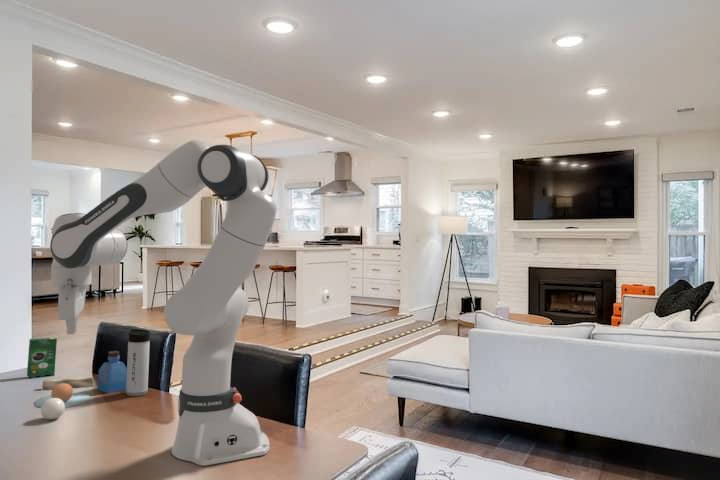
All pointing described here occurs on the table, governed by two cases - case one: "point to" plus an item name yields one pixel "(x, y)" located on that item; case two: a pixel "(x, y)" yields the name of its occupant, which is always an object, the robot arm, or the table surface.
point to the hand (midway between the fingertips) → (71, 333)
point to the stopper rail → (68, 382)
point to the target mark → (74, 400)
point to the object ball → (62, 392)
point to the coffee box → (41, 357)
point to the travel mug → (138, 362)
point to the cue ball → (52, 408)
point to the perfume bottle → (112, 374)
